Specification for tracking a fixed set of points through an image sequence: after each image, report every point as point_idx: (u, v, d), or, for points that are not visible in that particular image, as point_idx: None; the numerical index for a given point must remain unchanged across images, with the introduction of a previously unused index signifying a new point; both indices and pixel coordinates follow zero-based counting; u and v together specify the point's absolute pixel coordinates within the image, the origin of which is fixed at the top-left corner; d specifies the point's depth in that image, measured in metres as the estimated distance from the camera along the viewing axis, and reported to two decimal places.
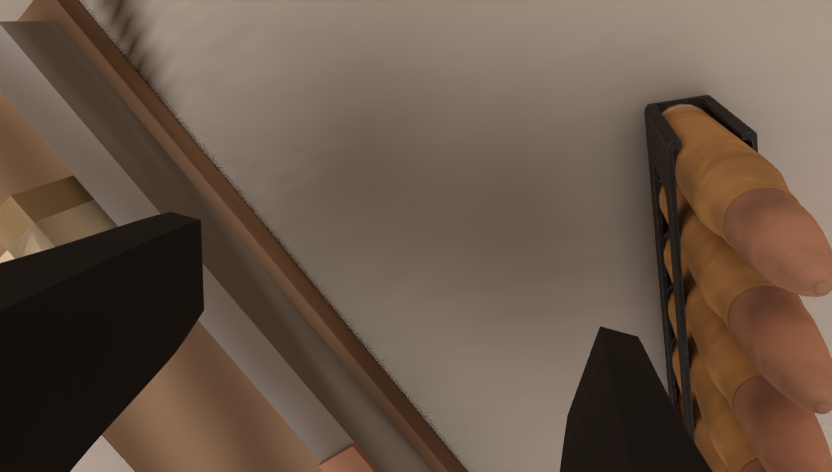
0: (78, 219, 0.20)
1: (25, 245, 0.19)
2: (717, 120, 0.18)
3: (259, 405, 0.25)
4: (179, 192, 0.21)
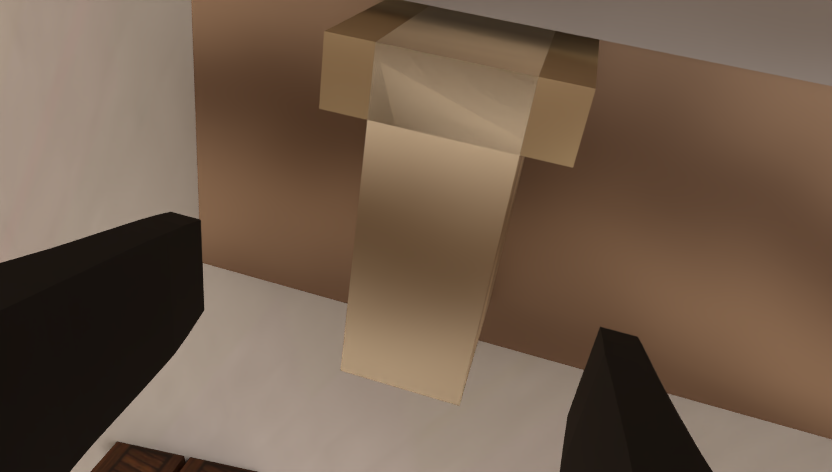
0: (417, 31, 0.13)
1: (385, 89, 0.12)
2: None
3: (795, 171, 0.15)
4: None
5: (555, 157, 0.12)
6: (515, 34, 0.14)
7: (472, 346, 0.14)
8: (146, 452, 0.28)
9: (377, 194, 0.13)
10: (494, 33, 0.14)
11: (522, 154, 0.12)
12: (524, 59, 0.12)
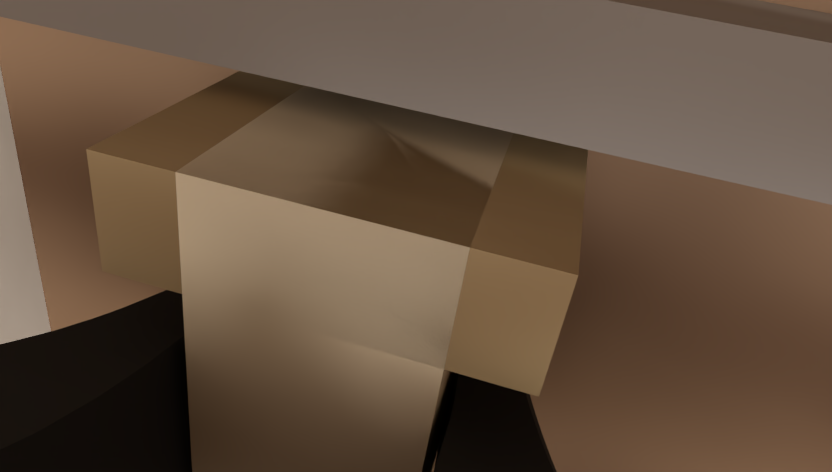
0: (277, 133, 0.08)
1: (203, 250, 0.07)
2: None
3: None
4: None
5: (507, 378, 0.07)
6: (452, 126, 0.09)
7: None
8: None
9: (216, 403, 0.08)
10: (416, 127, 0.08)
11: (448, 368, 0.07)
12: (452, 195, 0.07)
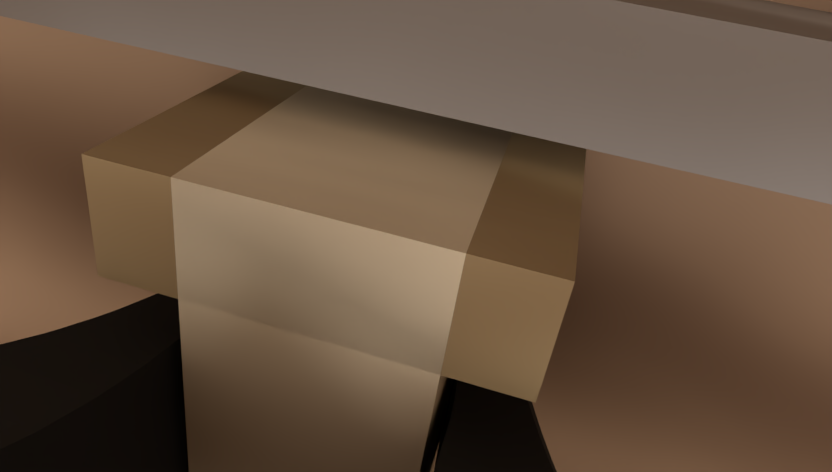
0: (273, 137, 0.07)
1: (199, 254, 0.07)
2: None
3: (702, 277, 0.10)
4: None
5: (504, 383, 0.06)
6: (450, 129, 0.08)
7: None
8: None
9: (213, 407, 0.08)
10: (414, 130, 0.08)
11: (445, 373, 0.07)
12: (448, 199, 0.07)
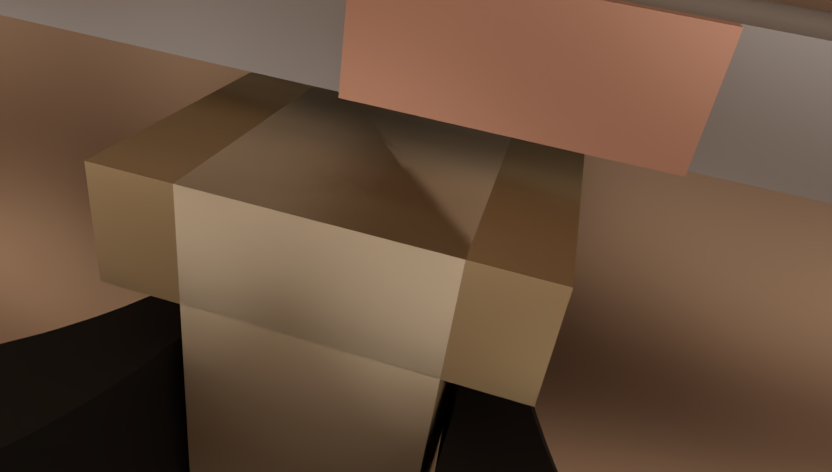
0: (274, 143, 0.08)
1: (200, 260, 0.07)
2: None
3: None
4: None
5: (503, 388, 0.07)
6: (449, 135, 0.09)
7: None
8: None
9: (214, 411, 0.08)
10: (413, 136, 0.08)
11: (445, 378, 0.07)
12: (448, 205, 0.07)
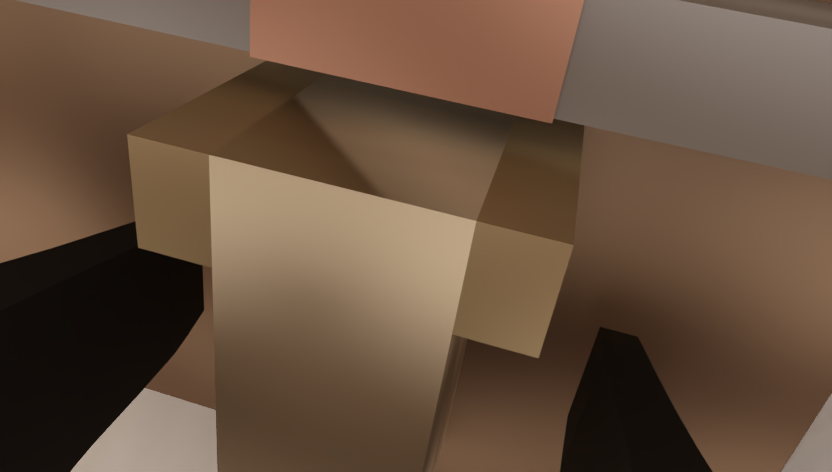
0: (297, 121, 0.08)
1: (232, 226, 0.07)
2: None
3: None
4: None
5: (510, 341, 0.07)
6: (458, 115, 0.09)
7: None
8: None
9: (241, 370, 0.09)
10: (424, 116, 0.09)
11: (456, 333, 0.07)
12: (458, 175, 0.07)
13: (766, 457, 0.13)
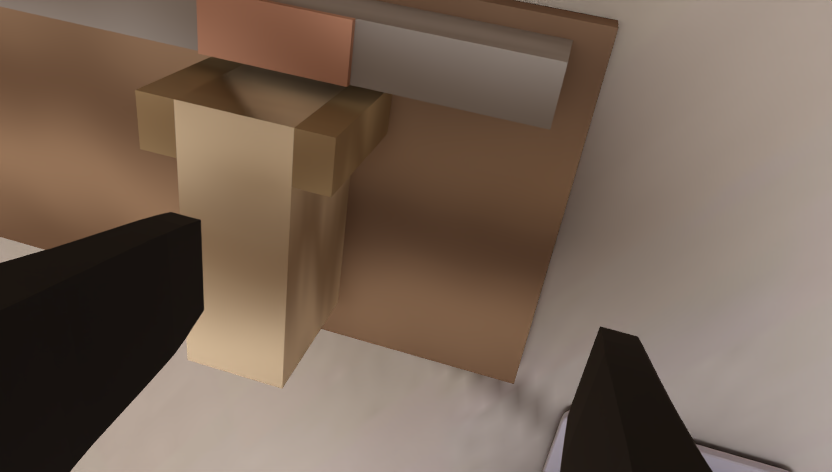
0: (221, 86, 0.16)
1: (186, 135, 0.15)
2: None
3: None
4: None
5: (317, 189, 0.15)
6: (312, 85, 0.17)
7: (284, 339, 0.18)
8: None
9: (193, 216, 0.16)
10: (293, 85, 0.17)
11: (293, 186, 0.15)
12: (296, 111, 0.15)
13: (525, 301, 0.20)
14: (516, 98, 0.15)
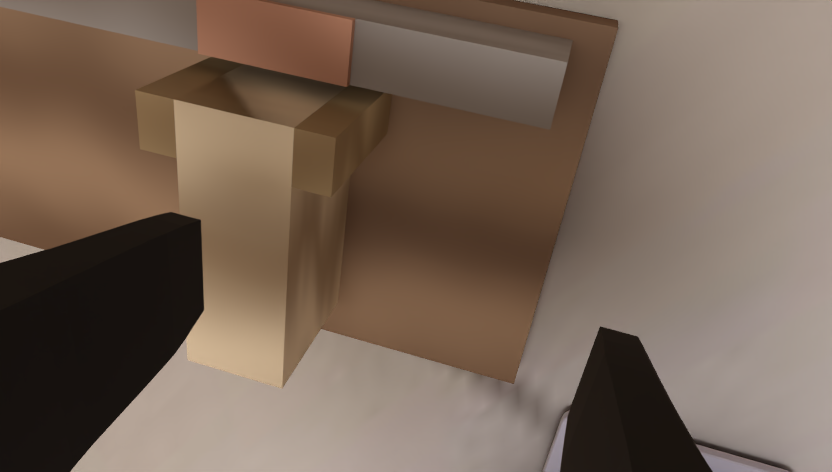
0: (221, 86, 0.16)
1: (185, 135, 0.15)
2: None
3: None
4: None
5: (317, 189, 0.15)
6: (312, 85, 0.17)
7: (284, 339, 0.18)
8: None
9: (193, 216, 0.16)
10: (292, 85, 0.17)
11: (293, 186, 0.15)
12: (296, 111, 0.15)
13: (525, 301, 0.20)
14: (516, 98, 0.15)
